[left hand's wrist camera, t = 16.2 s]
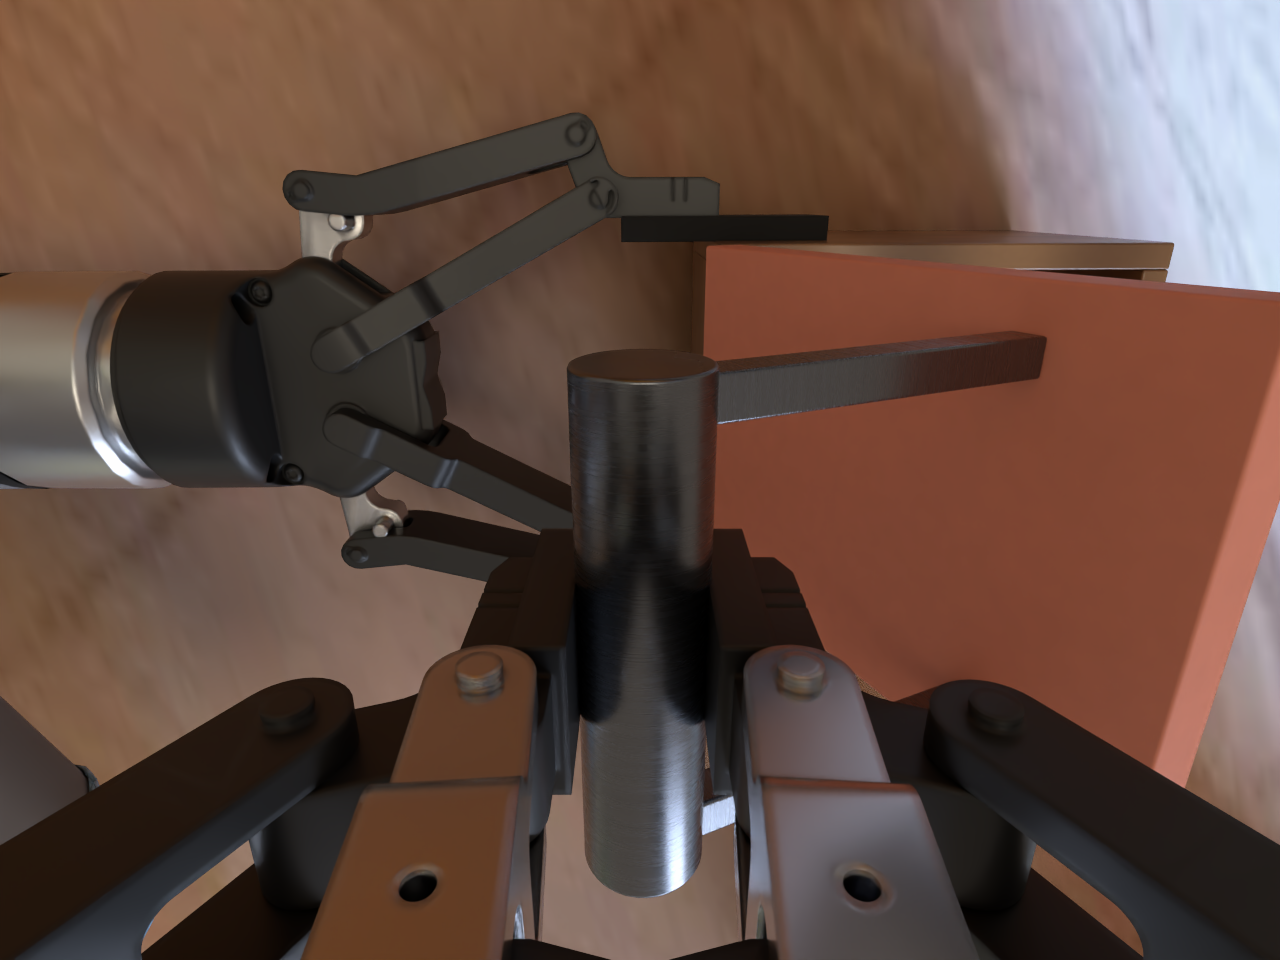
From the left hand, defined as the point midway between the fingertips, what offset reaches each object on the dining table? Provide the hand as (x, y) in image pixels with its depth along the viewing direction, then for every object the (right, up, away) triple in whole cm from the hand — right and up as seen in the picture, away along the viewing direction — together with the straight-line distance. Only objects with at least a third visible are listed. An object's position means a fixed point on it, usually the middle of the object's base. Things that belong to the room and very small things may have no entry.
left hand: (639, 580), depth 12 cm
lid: (+6, +2, +5) cm, 8 cm away
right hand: (+6, +5, +14) cm, 16 cm away
